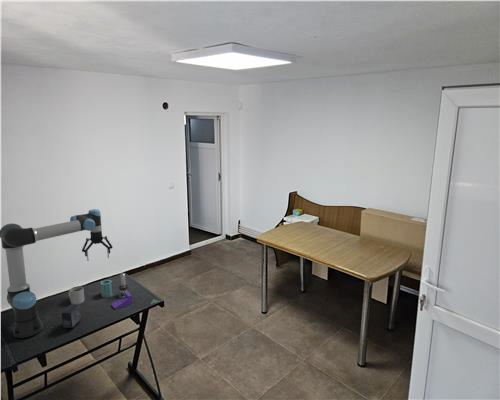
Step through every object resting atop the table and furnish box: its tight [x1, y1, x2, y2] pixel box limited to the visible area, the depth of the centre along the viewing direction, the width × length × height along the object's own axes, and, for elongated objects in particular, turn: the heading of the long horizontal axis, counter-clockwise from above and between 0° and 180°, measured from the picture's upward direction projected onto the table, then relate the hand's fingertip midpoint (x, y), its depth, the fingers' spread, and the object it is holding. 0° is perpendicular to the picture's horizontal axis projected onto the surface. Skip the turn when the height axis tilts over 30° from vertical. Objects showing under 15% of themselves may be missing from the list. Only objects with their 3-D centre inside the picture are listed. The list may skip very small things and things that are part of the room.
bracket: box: [111, 292, 133, 310], centre depth 237 cm, size 12×7×7 cm, turn 132°
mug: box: [67, 285, 86, 305], centre depth 242 cm, size 11×10×10 cm
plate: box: [118, 291, 131, 299], centre depth 251 cm, size 8×8×1 cm
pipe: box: [119, 272, 128, 296], centre depth 249 cm, size 5×5×16 cm
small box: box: [61, 303, 82, 329], centre depth 214 cm, size 11×6×10 cm, turn 178°
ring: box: [118, 284, 129, 291], centre depth 250 cm, size 6×6×2 cm
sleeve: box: [100, 279, 113, 298], centre depth 250 cm, size 7×7×11 cm
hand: (98, 259), depth 246 cm, fingers open, 13 cm apart
